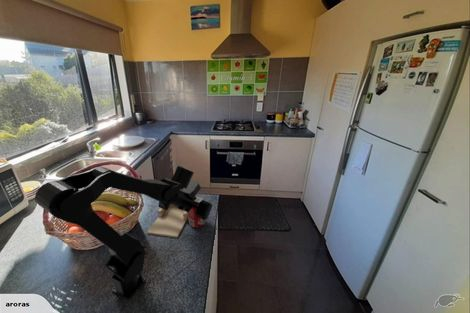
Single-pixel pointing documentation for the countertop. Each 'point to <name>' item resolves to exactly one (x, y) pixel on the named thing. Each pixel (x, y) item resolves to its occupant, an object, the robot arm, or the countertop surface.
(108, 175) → the robot arm
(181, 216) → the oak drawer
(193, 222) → the soda can
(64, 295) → the countertop surface
